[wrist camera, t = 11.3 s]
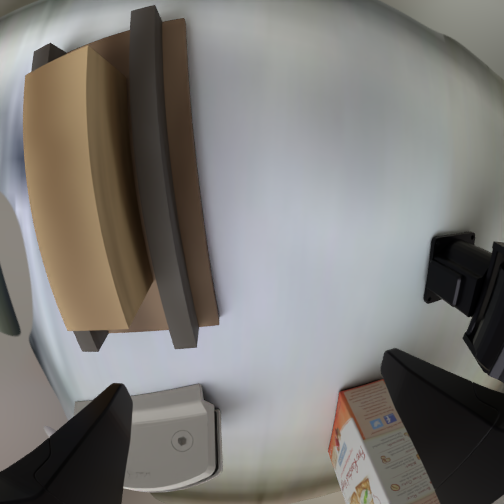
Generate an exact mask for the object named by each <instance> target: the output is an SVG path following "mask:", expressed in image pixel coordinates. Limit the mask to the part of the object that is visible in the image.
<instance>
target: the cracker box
mask: <svg viewBox="0 0 504 504" xmlns="http://www.w3.org/2000/svg"><path fill="white" fill-rule="evenodd" d="M328 452H329V455H330V458H331V461H332V464H333V466H334V470H335V473H336V476H337V479H338V482H339V485H340V488H341V490H342V493H343V496H344V499H345V502H346V504H440V502H439V500H438V497H437V495H436V493H435V490H434V488H433V486H432V483H431V481H430V479H429V477H428V474H427V472H426V470H425V468H424V466H423V464H422V462H421V459H420V457H419V455H418V453H417V451H416V449H415V447H414V445H413V443H412V441H411V439H410V437H409V435H408V433H407V431H406V429H405V427H404V425H403V423H402V421H401V419H400V417H399V415H398V413H397V411H396V409H395V407H394V405H393V402H392V400H391V397H390V395H389V392H388V389H387V387H386V384H385V382H384V379H381V380H378V381H375V382H372V383H368V384H365V385H362V386H359V387H355V388H352V389H348V390H344V391H340V392H339V398H338V404H337V410H336V416H335V421H334V426H333V431H332V436H331V441H330V445H329V450H328Z"/></svg>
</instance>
